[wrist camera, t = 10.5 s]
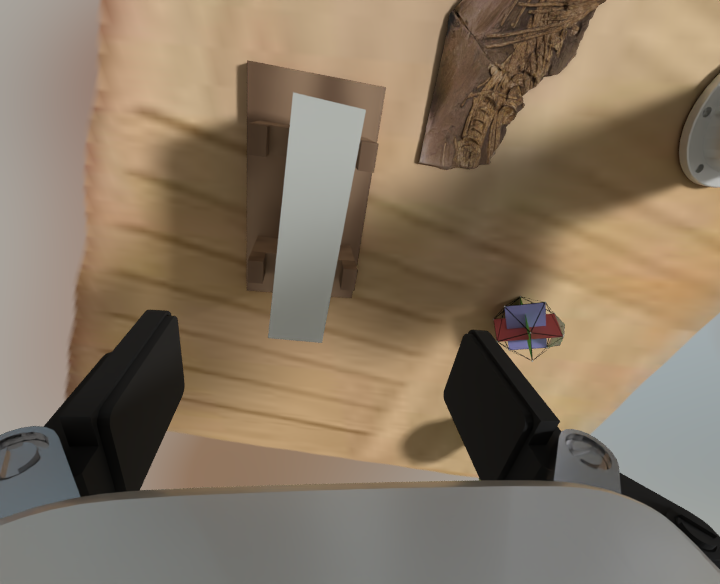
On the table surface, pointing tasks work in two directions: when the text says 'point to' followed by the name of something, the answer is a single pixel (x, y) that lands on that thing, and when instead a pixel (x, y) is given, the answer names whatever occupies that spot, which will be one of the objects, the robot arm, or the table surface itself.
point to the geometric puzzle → (529, 327)
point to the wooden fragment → (496, 71)
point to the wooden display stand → (268, 163)
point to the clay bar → (313, 214)
